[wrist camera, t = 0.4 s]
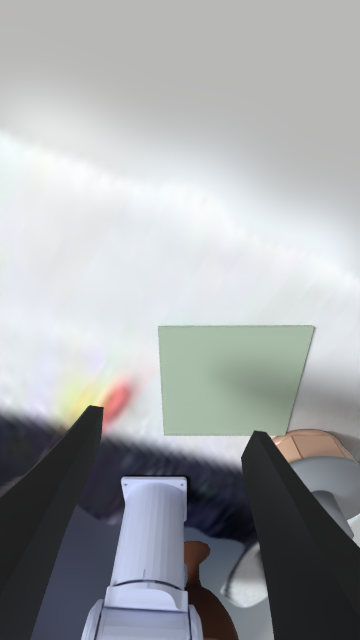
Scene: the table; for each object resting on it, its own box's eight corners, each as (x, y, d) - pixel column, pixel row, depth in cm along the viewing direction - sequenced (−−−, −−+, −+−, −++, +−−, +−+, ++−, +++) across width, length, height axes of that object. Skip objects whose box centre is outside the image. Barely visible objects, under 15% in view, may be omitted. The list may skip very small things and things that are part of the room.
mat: (283, 432, 25) (285, 435, 25) (164, 432, 25) (163, 435, 25) (311, 325, 20) (314, 327, 19) (158, 325, 20) (158, 328, 19)
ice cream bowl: (217, 526, 34) (240, 739, 20) (232, 560, 38) (261, 753, 25) (148, 536, 35) (127, 742, 22) (171, 568, 40) (166, 754, 26)
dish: (329, 485, 29) (347, 517, 26) (250, 484, 29) (258, 516, 26) (354, 429, 25) (378, 460, 22) (261, 429, 25) (272, 459, 22)
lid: (350, 520, 26) (376, 566, 23) (252, 519, 27) (262, 565, 23) (387, 455, 22) (426, 502, 18) (267, 455, 22) (282, 501, 18)
